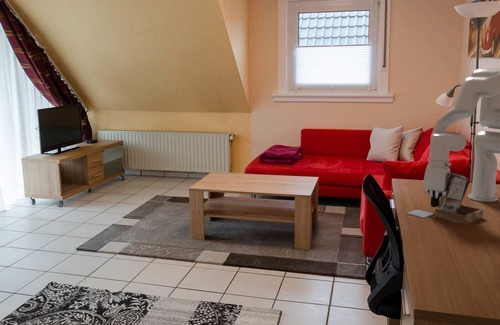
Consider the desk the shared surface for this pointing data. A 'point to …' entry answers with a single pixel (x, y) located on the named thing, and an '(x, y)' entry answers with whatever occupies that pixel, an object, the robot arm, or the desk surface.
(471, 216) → the bay walnut
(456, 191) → the coffee box
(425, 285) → the desk surface
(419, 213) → the mat grey
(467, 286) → the desk surface
